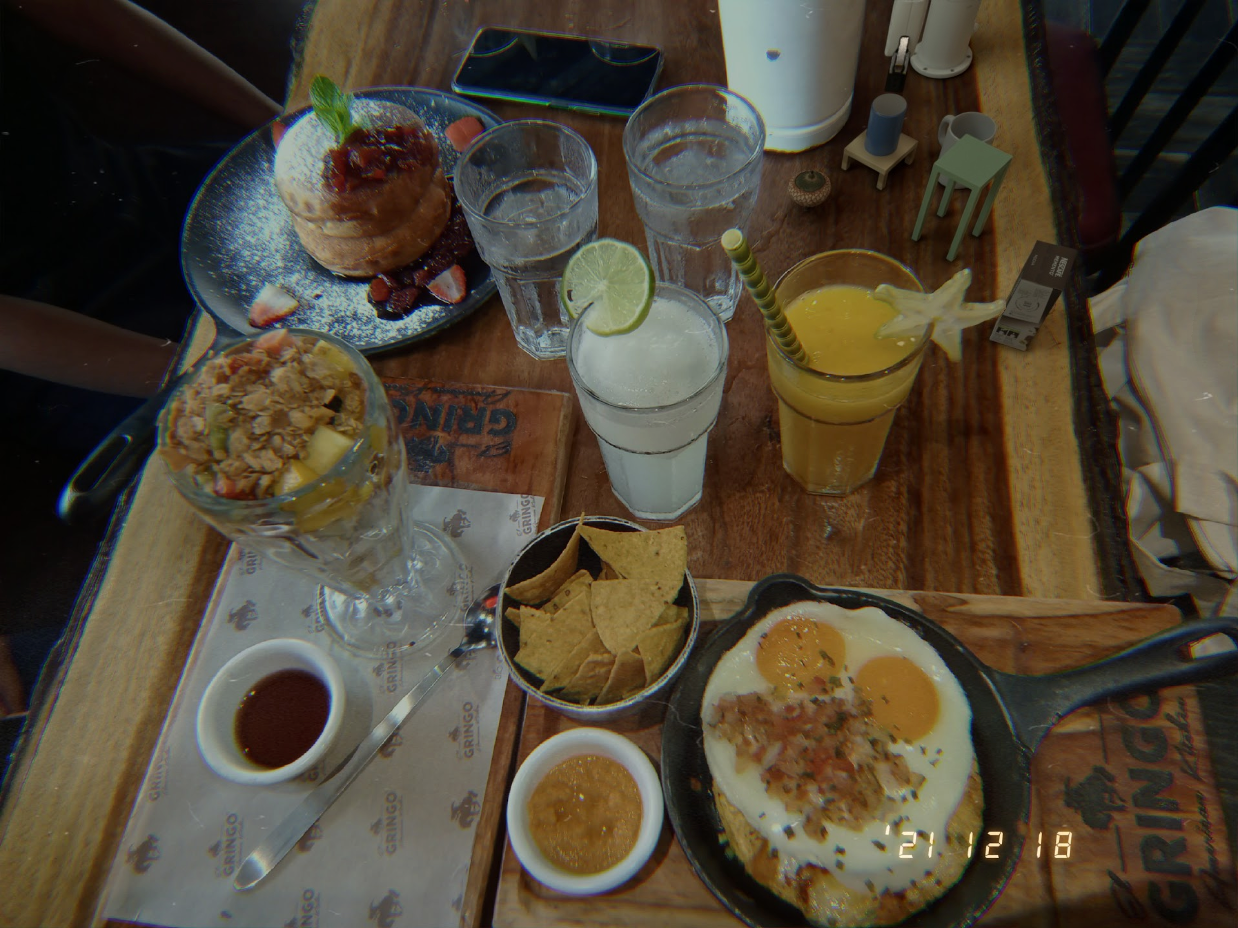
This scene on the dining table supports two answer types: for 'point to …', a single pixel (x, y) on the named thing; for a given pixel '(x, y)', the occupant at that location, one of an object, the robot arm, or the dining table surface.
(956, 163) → the tall green stool
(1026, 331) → the coffee box
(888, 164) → the low shelf
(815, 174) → the acorn
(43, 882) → the dining table surface
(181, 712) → the dining table surface
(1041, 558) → the dining table surface
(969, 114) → the mug
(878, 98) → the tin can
